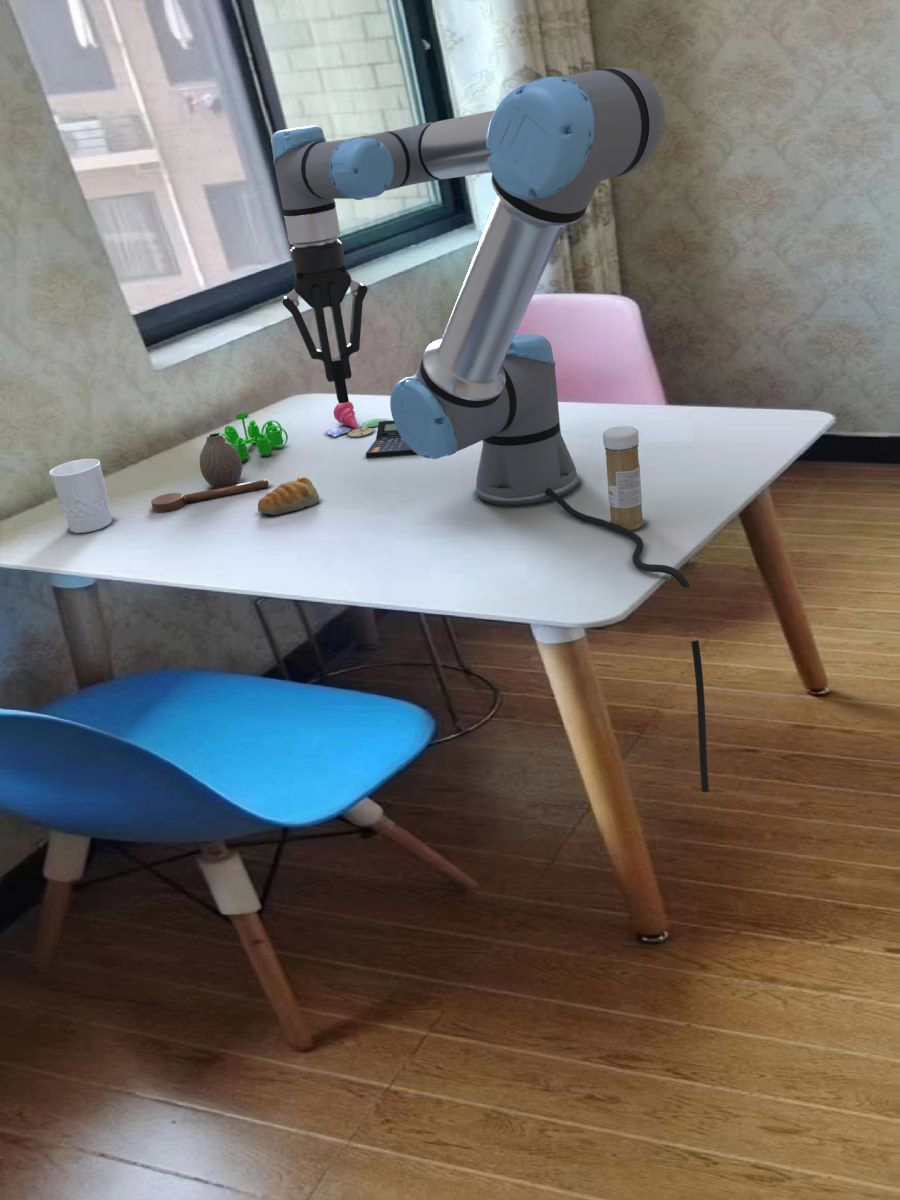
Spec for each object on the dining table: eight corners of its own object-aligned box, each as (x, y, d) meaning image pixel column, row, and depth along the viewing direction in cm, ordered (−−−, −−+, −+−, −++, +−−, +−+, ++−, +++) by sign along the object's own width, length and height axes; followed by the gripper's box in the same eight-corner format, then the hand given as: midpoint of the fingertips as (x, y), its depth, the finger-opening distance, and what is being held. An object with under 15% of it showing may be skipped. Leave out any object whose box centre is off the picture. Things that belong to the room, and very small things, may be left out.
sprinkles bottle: (608, 521, 157) (600, 427, 152) (642, 517, 157) (635, 422, 151) (612, 534, 153) (604, 437, 148) (646, 530, 153) (639, 433, 147)
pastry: (272, 521, 176) (266, 497, 174) (251, 512, 181) (246, 489, 179) (323, 502, 181) (319, 479, 179) (301, 494, 186) (297, 471, 184)
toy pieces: (312, 433, 217) (307, 411, 215) (355, 416, 224) (352, 394, 222) (353, 441, 209) (349, 417, 207) (398, 422, 216) (394, 400, 214)
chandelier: (194, 457, 213) (185, 421, 210) (261, 434, 221) (254, 399, 218) (236, 470, 202) (228, 432, 199) (306, 445, 211) (298, 408, 208)
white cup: (125, 516, 188) (109, 458, 184) (96, 535, 181) (79, 475, 177) (86, 516, 191) (69, 458, 186) (56, 534, 184) (38, 475, 180)
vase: (226, 493, 192) (214, 442, 188) (196, 489, 195) (184, 440, 192) (253, 478, 197) (243, 429, 193) (224, 475, 200) (213, 427, 197)
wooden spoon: (268, 482, 194) (266, 474, 193) (270, 491, 189) (268, 483, 189) (153, 504, 191) (151, 496, 191) (152, 514, 187) (150, 506, 186)
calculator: (366, 458, 199) (363, 441, 197) (382, 436, 209) (379, 420, 208) (419, 454, 197) (416, 437, 195) (432, 432, 207) (429, 416, 205)
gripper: (356, 232, 171) (381, 387, 181) (269, 246, 169) (298, 402, 179) (363, 237, 164) (388, 398, 174) (272, 252, 162) (303, 414, 172)
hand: (343, 400), depth 176 cm, fingers closed
